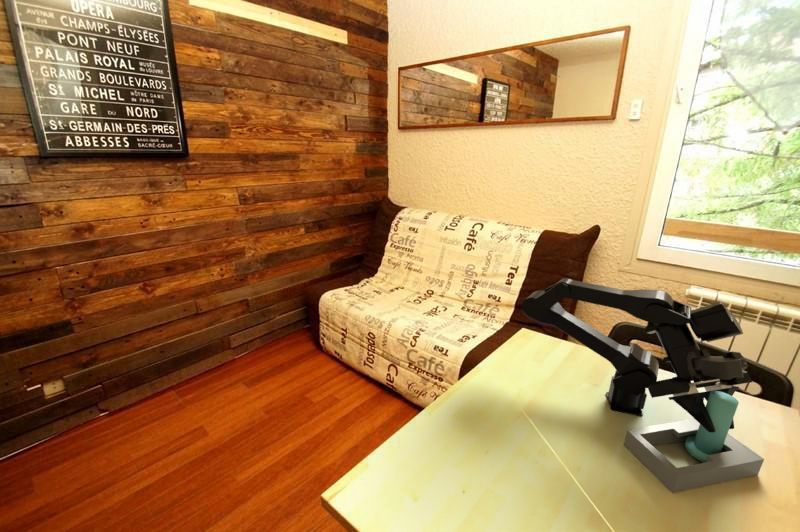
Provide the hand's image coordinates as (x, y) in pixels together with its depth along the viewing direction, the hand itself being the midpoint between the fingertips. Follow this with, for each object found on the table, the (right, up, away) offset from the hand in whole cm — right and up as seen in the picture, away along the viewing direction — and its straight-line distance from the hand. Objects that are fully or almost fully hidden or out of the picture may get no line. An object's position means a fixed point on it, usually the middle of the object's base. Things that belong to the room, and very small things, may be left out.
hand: (721, 430), depth 66 cm
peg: (0, -6, +3) cm, 7 cm away
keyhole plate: (-4, -7, +3) cm, 9 cm away
